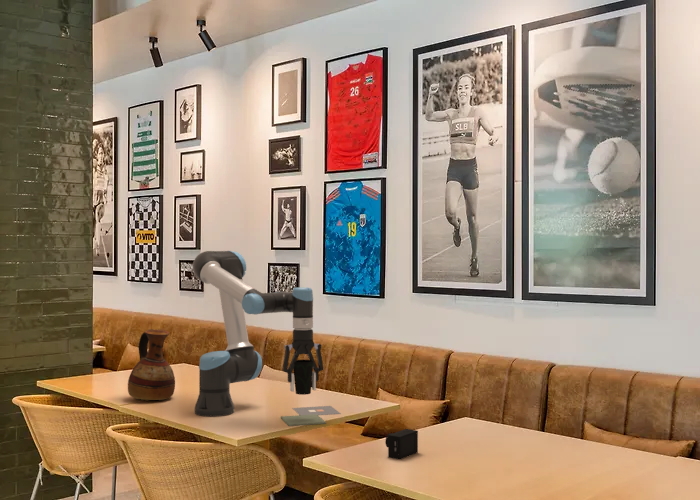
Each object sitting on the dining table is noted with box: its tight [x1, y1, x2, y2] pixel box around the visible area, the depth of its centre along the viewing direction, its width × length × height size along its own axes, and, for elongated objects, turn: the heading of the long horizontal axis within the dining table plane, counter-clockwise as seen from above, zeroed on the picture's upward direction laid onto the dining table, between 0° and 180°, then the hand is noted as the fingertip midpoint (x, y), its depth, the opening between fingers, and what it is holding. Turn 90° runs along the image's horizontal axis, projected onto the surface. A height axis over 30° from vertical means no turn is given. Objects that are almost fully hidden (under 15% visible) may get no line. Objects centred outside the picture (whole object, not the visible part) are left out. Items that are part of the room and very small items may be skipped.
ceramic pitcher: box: [127, 328, 176, 401], centre depth 321 cm, size 20×20×30 cm
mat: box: [280, 414, 327, 427], centre depth 279 cm, size 14×14×1 cm
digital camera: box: [384, 428, 419, 460], centre depth 232 cm, size 10×5×7 cm, turn 143°
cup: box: [293, 359, 314, 395], centre depth 279 cm, size 8×8×12 cm
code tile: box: [292, 405, 342, 416], centre depth 297 cm, size 16×16×1 cm
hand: (303, 390), depth 279 cm, fingers closed on cup, 8 cm apart
